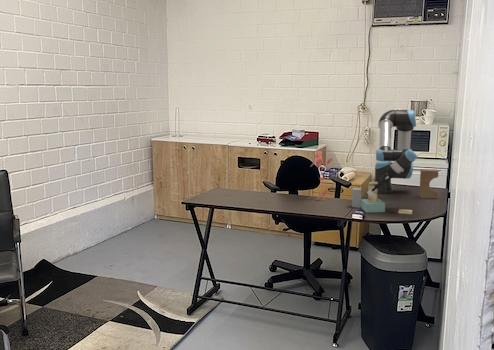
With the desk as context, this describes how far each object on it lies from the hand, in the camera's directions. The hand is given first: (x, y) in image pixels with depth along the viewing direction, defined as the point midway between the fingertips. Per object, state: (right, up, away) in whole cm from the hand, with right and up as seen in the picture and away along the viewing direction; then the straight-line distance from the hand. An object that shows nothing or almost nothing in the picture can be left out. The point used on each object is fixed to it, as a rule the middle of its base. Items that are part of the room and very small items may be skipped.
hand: (369, 191), depth 296 cm
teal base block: (+2, -12, +1) cm, 12 cm away
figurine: (-27, -6, +36) cm, 46 cm away
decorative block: (+50, -5, +30) cm, 58 cm away
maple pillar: (+2, -6, 0) cm, 6 cm away
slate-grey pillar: (-6, -10, +11) cm, 16 cm away
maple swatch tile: (+21, -12, -7) cm, 25 cm away
